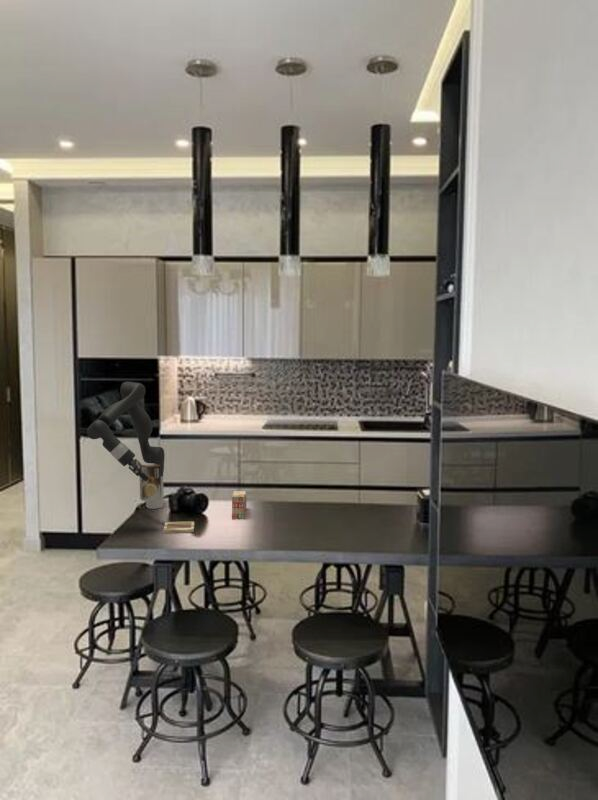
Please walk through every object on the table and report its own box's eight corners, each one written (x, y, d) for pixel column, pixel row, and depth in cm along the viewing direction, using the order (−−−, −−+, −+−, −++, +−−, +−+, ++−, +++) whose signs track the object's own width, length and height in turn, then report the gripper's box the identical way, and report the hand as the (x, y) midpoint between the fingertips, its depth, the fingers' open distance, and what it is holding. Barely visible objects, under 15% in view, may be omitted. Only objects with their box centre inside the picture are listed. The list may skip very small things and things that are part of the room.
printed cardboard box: (235, 509, 334) (235, 486, 333) (246, 509, 334) (246, 486, 334) (231, 519, 313) (231, 496, 312) (244, 519, 313) (244, 496, 312)
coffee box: (158, 496, 298) (158, 463, 296) (161, 499, 292) (161, 466, 290) (139, 498, 294) (139, 464, 293) (141, 501, 288) (141, 467, 287)
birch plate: (165, 525, 301) (165, 522, 301) (194, 524, 303) (194, 521, 303) (163, 533, 288) (163, 530, 287) (193, 532, 290) (193, 529, 290)
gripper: (126, 451, 282) (152, 475, 285) (130, 446, 296) (155, 469, 299) (114, 462, 282) (140, 487, 284) (119, 456, 296) (144, 480, 298)
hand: (148, 478), depth 291 cm, fingers closed on coffee box, 7 cm apart
